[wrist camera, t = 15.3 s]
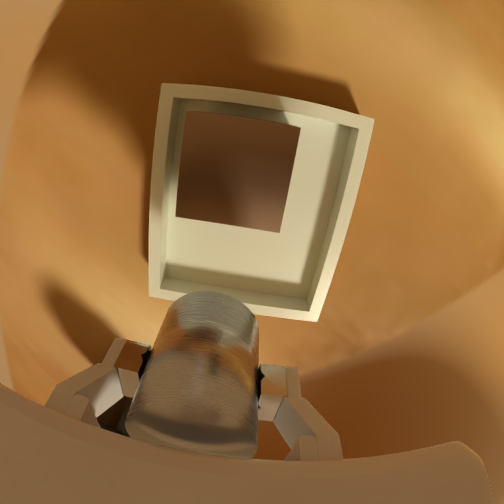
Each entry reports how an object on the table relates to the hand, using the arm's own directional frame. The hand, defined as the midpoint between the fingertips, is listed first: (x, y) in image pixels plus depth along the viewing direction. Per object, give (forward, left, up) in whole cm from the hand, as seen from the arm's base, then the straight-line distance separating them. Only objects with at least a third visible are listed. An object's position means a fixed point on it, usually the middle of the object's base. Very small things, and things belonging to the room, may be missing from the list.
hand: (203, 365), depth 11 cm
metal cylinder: (0, 0, -2) cm, 2 cm away
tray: (-4, +1, -11) cm, 11 cm away
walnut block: (-7, 0, -10) cm, 12 cm away
